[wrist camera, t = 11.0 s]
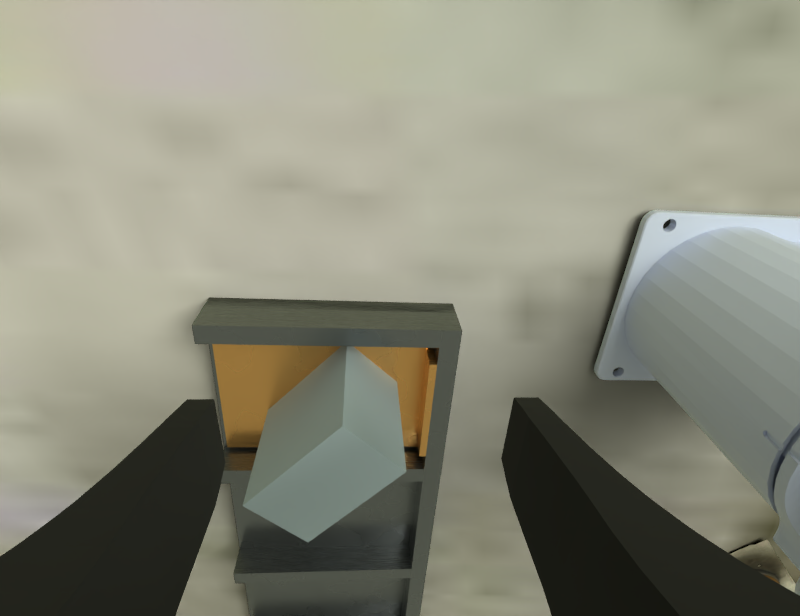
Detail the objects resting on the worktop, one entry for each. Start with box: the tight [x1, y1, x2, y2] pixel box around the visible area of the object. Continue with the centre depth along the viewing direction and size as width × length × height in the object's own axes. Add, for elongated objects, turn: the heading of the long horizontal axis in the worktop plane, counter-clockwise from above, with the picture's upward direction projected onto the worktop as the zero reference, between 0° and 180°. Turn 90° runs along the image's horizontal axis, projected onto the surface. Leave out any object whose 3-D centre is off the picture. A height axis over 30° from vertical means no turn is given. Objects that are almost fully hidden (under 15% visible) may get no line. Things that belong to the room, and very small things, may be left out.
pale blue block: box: [243, 346, 406, 542], centre depth 18 cm, size 3×5×5 cm, turn 133°
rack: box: [192, 298, 462, 616], centre depth 24 cm, size 10×23×2 cm, turn 176°
